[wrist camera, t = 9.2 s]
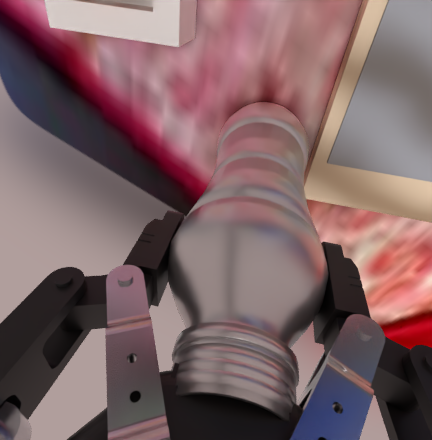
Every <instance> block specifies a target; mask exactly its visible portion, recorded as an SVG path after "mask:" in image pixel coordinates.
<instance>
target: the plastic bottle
mask: <svg viewBox="0 0 432 440" xmlns="http://www.w3.org/2000/svg"><path fill="white" fill-rule="evenodd" d="M308 155H309V142H308V137H307V134H306V131H305V129H304V127H303V126H302V124H301V123H300V121H299V120H298V119H297V117H296V116H295V115H294V114H293V113H292V112H291V111H289V110H288V109H286V108H285V107H283V106H280V105H278V104H275V103H270V102H257V103H252V104H249V105H247V106H245V107H243V108H241V109H240V110H238V111H237V112H236V113H234V114H233V115H232V116H231V117H230V118H229V119H228V120H227V121H226V122H225V124H224V126H223V127H222V129H221V131H220V135H219V138H218V145H217V162H216V166H215V171H214V174H213V176H212V178H211V180H210V182H209V184H208V186H207V188H206V190H205V192H204V193H203V195H202V196H201V197H200V199H199V200H198V201H197V203H196V204H195V206H194V207H193V208H192V210H191V211H190V212H189V214H188V215H187V217H186V218H185V219H184V220H183V222H182V224H181V226H180V227H179V229H178V231H177V233H176V234H175V236H174V238H173V240H172V241H171V244H170V249H169V255H168V282H169V285H170V288H171V291H172V294H173V297H174V300H175V303H176V306H177V309H178V311H179V314H180V316H181V318H182V320H183V322H184V324H185V326H186V329H185V330H183V331H182V332H181V333H180V334H179V336H178V337H177V340H176V343H175V346H174V350H173V354H172V360H173V366H172V370H171V371H173V367H174V364H175V363H179V367H178V370H177V374H176V378H177V380H176V385H177V386H178V387H177V391H176V395H180V396H184V395H190V394H208V395H218V396H224V397H230V398H234V399H238V400H242V401H245V402H248V403H251V404H254V405H257V406H259V407H261V408H264V409H266V410H268V411H270V412H271V413H273V414H275V415H277V416H278V417H279V418H281V419H282V420H285V421H289V422H290V419H289V412H290V413H292V407H293V405H294V404H296V387H297V385H298V381H299V371H298V362H297V358H296V356H295V354H294V353H293V351H292V350H291V349H290V348H291V347H292V346H293V345H294V343H295V342H296V341H297V340H298V339H299V338H300V337H301V335H303V333H304V332H305V331H306V330H307V329H308V327H309V326H310V324H311V323H312V321H313V320H314V318H315V317H316V315H317V314H318V312H319V310H320V308H321V306H322V304H323V300H324V296H325V291H326V286H327V281H328V275H329V274H328V267H327V262H326V258H325V254H324V250H323V246H322V244H321V242H320V239H319V236H318V234H317V231H316V228H315V226H314V223H313V220H312V218H311V215H310V212H309V210H308V206H307V201H306V196H305V191H304V172H305V169H306V166H307V162H308Z"/></svg>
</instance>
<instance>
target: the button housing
mask: <svg viewBox="0 0 432 440" xmlns="http://www.w3.org/2000/svg"><path fill="white" fill-rule="evenodd" d="M44 1H45V6H46V11H47V16H48V20H49V25H50V27H51V28H58V29H64V30H71V31H77V32H84V33H90V34H97V35H103V36H110V37H116V38H123V39H129V40H136V41H142V42H149V43H155V44H162V45H168V46H175V47H180V46H182V45H184V44H186V43H188V42H189V41H191V40H193V39H195V31H196V11H197V0H44Z"/></svg>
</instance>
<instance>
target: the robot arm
mask: <svg viewBox="0 0 432 440" xmlns="http://www.w3.org/2000/svg"><path fill="white" fill-rule="evenodd" d="M183 220H184V214H183V213H179V212H173V211H167V213H166V214H165V216H164V219H163V220H158V219H154V220H153V221H151V222H150V223H149V224H147V225H146V227H145V228H144V230H143V232H142V234H141V235H140V237H139V239H138V241H137V242H136V244H135V246H134V247H133V249H132V250H131V252H130V254H129V256H128V257H127V259H126V261H125V262H124V264H123V265H122V266H119V267H116V268H115V269H113V270H112V271H111V272H110V273H109V274H108V275H102V276H89V277H87V276H86V277H84V274H83V272H82V271H81V270H79V269H77V268H74V267H66V268H61V269H58V270H56V271H54V272H52V273H51V274H50V275H49V276H47V277H46V278H45V279H44V280H43V281H42V282H41V283H40V284H39V285H38V287H36V288H35V289H34V291H33V292H32V293H31V294H30V295H28V296H27V297H26V298H25V300H24V301H23V302H22V303H21V304H20V305H19V306H18V307H17V308H16V309H15V310H14V311H13V312H12V313H11V314H10V315H9V316H8V317H7V318H6V319H5V320H4V321H3V322H2V323H1V324H0V440H30V438H31V425H30V423H29V421H28V419H29V417H30V416H31V414H32V413H33V411H34V410H35V409H36V407H37V406H38V404H39V403H40V402H41V400H42V399H43V397H44V396H45V394H46V393H47V392H48V390H49V389H50V387H51V386H52V385H53V383H54V382H55V380H56V379H57V378H58V376H59V375H60V373H61V372H62V370H63V369H64V368H65V366H66V365H67V363H68V362H69V361H70V359H71V358H72V356H73V355H74V353H75V352H76V351H77V349H78V348H79V346H80V345H81V343H82V342H83V340H84V339H85V338H86V336H87V335H88V334H89V332H90V331H91V329H98V328H106V370H107V372H106V373H107V408H106V409H105V410H103V411H102V412H101V413H100V414H99V415H97V416H96V417H94V418H93V419H92V420H91V421H89V422H88V423H87V424H86V425H84V426H83V427H82V428H81V429H79V430H78V431H77V432H76V433H74V434H73V435H72V436H71V437H69V438H68V439H67V440H359V439H360V436H361V432H362V429H363V426H364V423H365V420H366V416H367V414H368V410H369V407H370V404H371V401H372V398H373V395H375V396H376V399H377V402H378V405H379V408H380V411H381V415H382V418H383V421H384V424H385V427H386V430H387V433H388V436H389V440H432V348H431V347H428V346H424V345H416V346H414V347H413V348H412V349H411V350H410V349H408V348H406V347H404V346H402V345H400V344H398V343H396V342H394V341H392V340H390V339H388V338H387V337H385V335H384V332H383V330H382V329H381V327H380V326H379V325H378V324H377V323H376V322H375V321H374V320H372V319H371V317H370V313H369V309H368V306H367V302H366V298H365V294H364V290H363V288H362V283H361V280H360V275H359V271H358V268H357V267H356V265H355V264H354V263H353V261H352V260H351V259H349V258H344V256H343V251H342V247H341V245H338V244H333V243H328V242H322V243H321V244H322V246H323V250H324V254H325V258H326V262H327V267H328V274H329V275H328V281H327V286H326V291H325V296H324V300H323V304H322V306H321V308H320V310H319V312H318V314H317V315H316V317H315V318H314V320H313V325H314V336H315V342H316V343H320V344H324V349H325V352H324V353H323V355H322V356H321V358H320V360H319V362H318V364H317V366H316V368H315V370H314V372H313V374H312V376H311V378H310V380H309V382H308V384H307V386H306V388H305V390H304V392H303V394H302V395H301V397H300V398H299V400H298V402H297V404H294V405H293V407H292V413H290V412H289V419H290V422H289V421H285V420H282V419H281V418H279V417H278V416H277V415H275V414H273V413H271V412H270V411H268V410H266V409H264V408H261V407H259V406H257V405H254V404H251V403H248V402H245V401H242V400H238V399H234V398H230V397H224V396H218V395H208V394H190V395H184V396H180V395H176V391H177V387H178V386H177V385H176V380H177V378H176V374H177V370H178V367H179V363H175V364H174V367H173V371H164V372H159V367H158V360H157V354H156V347H155V341H154V334H153V328H152V322H151V317H150V314H149V308H150V306H151V305H154V306H158V305H159V303H160V300H161V297H162V295H163V293H164V290H165V288H166V285H167V283H168V255H169V249H170V244H171V241H172V240H173V238H174V236H175V234H176V233H177V231H178V229H179V227H180V226H181V224H182V222H183Z"/></svg>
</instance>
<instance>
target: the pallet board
mask: <svg viewBox="0 0 432 440" xmlns="http://www.w3.org/2000/svg"><path fill="white" fill-rule="evenodd" d="M304 191H305V196H306V199H310V200H315V201H320V202H326V203H331V204H336V205H342V206H347V207H352V208H358V209H363V210H368V211H373V212H379V213H384V214H389V215H395V216H400V217H405V218H410V219H416V220H421V221H426V222H432V0H363V1H362V4H361V7H360V10H359V13H358V16H357V19H356V22H355V25H354V28H353V31H352V34H351V37H350V40H349V43H348V46H347V49H346V52H345V55H344V58H343V61H342V64H341V67H340V70H339V73H338V76H337V79H336V82H335V85H334V88H333V91H332V94H331V97H330V100H329V103H328V106H327V109H326V112H325V115H324V118H323V121H322V124H321V126H320V129H319V132H318V135H317V138H316V141H315V144H314V147H313V150H312V153H311V156H310V159H309V162H308V165H307V168H306V171H305V174H304Z"/></svg>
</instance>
